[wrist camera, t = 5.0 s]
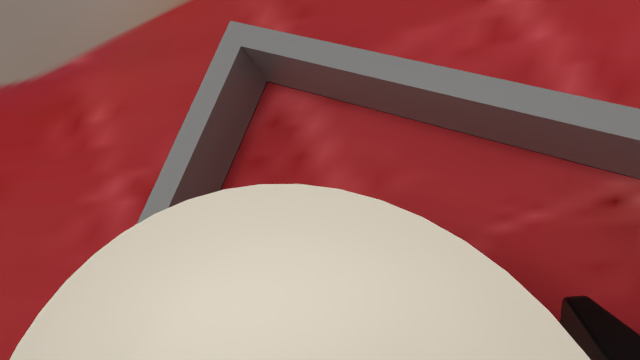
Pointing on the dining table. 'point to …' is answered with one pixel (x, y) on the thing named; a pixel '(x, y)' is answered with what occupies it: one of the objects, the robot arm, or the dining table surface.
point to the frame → (381, 107)
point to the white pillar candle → (292, 288)
